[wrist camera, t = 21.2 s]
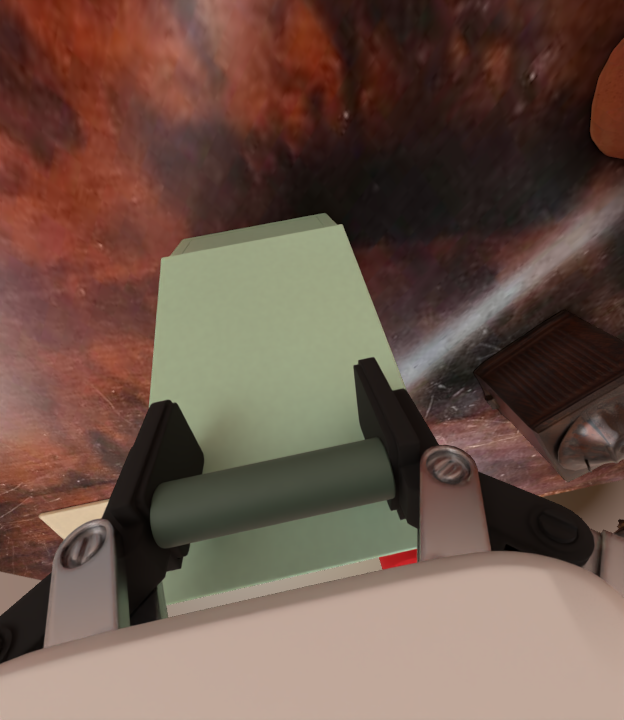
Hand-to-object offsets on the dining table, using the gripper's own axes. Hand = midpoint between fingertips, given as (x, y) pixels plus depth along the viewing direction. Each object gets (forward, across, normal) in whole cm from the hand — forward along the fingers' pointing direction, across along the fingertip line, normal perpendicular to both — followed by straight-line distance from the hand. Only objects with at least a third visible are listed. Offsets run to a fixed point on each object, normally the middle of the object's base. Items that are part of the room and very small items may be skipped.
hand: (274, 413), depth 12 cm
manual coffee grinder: (+17, -27, +19) cm, 37 cm away
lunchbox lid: (+4, 0, +1) cm, 4 cm away
